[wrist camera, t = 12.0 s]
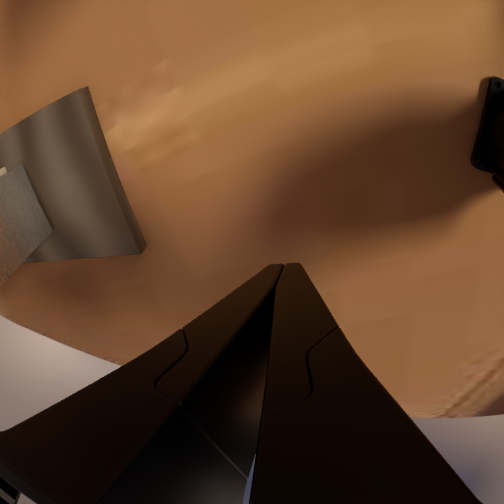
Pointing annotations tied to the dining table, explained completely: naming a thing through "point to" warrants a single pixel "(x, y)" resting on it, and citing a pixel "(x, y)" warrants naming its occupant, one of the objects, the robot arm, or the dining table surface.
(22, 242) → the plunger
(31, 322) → the dining table surface
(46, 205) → the launcher
